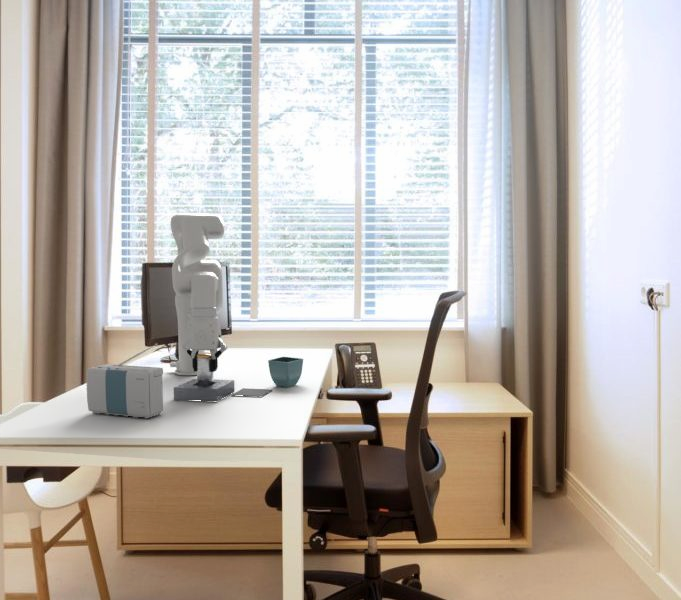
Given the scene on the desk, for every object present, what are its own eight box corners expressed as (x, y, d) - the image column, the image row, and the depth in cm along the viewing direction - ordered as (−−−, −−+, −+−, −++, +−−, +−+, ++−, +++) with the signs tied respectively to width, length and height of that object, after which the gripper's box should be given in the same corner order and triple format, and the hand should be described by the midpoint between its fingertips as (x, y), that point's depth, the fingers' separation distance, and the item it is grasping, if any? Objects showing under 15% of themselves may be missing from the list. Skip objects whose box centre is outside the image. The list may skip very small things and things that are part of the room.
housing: (173, 400, 190) (173, 387, 190) (194, 390, 204) (193, 378, 203) (216, 402, 187) (216, 389, 187) (234, 392, 201) (234, 380, 200)
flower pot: (288, 389, 206) (288, 362, 205) (267, 386, 210) (267, 360, 210) (304, 384, 213) (303, 358, 212) (283, 382, 218) (283, 356, 217)
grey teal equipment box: (86, 414, 173) (83, 343, 172) (107, 408, 181) (104, 339, 180) (148, 421, 166) (146, 346, 165) (167, 414, 174) (165, 342, 172)
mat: (231, 396, 196) (231, 394, 196) (243, 389, 205) (243, 388, 205) (261, 397, 194) (261, 396, 194) (272, 390, 203) (272, 389, 203)
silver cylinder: (194, 387, 194) (193, 355, 193) (201, 384, 198) (200, 352, 198) (209, 388, 193) (208, 356, 192) (216, 384, 197) (215, 353, 197)
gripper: (173, 313, 192) (174, 372, 193) (225, 314, 188) (226, 374, 190) (184, 311, 199) (185, 367, 201) (234, 312, 196) (235, 369, 197)
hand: (205, 370), depth 195 cm, fingers closed on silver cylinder, 5 cm apart
